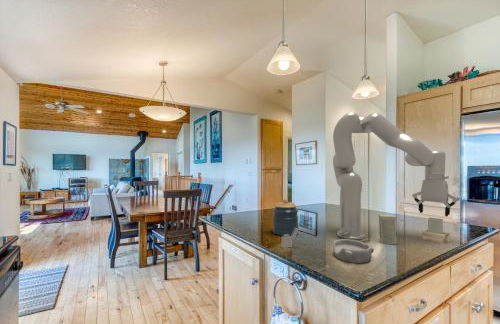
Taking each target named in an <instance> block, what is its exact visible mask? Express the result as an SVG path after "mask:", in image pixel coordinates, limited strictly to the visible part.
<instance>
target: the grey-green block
mask: <svg viewBox="0 0 500 324" xmlns="http://www.w3.org/2000/svg"><path fill="white" fill-rule="evenodd" d="M427 230H428V232H432V233H439V234H442V233H443V232H444V219H443V218H439V217H428V218H427Z"/></svg>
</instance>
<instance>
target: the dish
mask: <svg viewBox="0 0 500 324" xmlns="http://www.w3.org/2000/svg"><path fill="white" fill-rule="evenodd" d="M332 249H333V255H335V257H336V258H337V259H339V260H341V261H344V262H347V263H353V264H363V263H367V262H369V261H370V260H371V259H372V253H374V250H375V249H374V247H372V246H371V245H370V244H368V243H367V244H366V243H364V242H362V241H359V240H355V239H346V238H340V239H336V240H334V241H333V242H332Z"/></svg>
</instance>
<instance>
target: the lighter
mask: <svg viewBox="0 0 500 324" xmlns="http://www.w3.org/2000/svg"><path fill="white" fill-rule="evenodd" d="M299 230H300V229H299V228H298V229H297V228H294V230H293V232H292V234H291V236H289V234H285V235H284V236H281V237H280V239H281V244H280V245H281V246H280V247H281V249H289V248H288V247H292V248H293V239H296V236H297V235H298V234H299ZM297 233H298V234H297ZM286 247H287V248H286Z"/></svg>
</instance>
